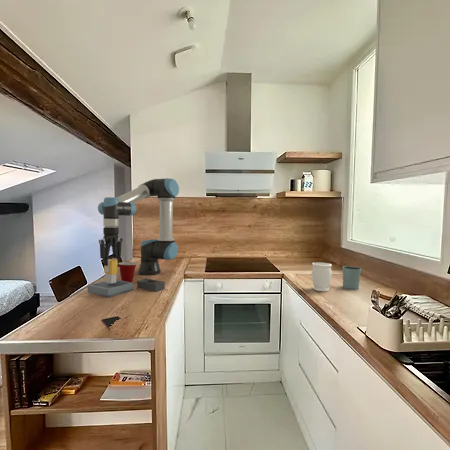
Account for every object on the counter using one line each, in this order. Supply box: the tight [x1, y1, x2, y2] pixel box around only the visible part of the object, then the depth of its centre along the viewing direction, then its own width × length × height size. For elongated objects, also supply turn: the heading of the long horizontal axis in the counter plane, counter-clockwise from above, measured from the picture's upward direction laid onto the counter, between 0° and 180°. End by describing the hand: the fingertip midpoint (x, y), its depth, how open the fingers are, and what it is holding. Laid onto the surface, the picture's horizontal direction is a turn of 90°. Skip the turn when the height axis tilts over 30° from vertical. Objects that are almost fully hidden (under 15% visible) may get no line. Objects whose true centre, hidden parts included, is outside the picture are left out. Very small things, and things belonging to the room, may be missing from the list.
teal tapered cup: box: [341, 265, 362, 291], centre depth 170 cm, size 10×10×12 cm
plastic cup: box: [118, 261, 138, 283], centre depth 172 cm, size 11×11×12 cm
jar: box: [311, 261, 333, 292], centre depth 164 cm, size 11×10×15 cm
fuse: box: [103, 258, 119, 284], centre depth 153 cm, size 4×6×12 cm, turn 60°
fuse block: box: [136, 278, 166, 292], centre depth 160 cm, size 7×14×4 cm, turn 60°
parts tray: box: [87, 279, 134, 298], centre depth 153 cm, size 16×16×4 cm
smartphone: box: [100, 316, 122, 330], centre depth 110 cm, size 7×1×14 cm
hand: (110, 270), depth 153 cm, fingers closed on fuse, 4 cm apart
